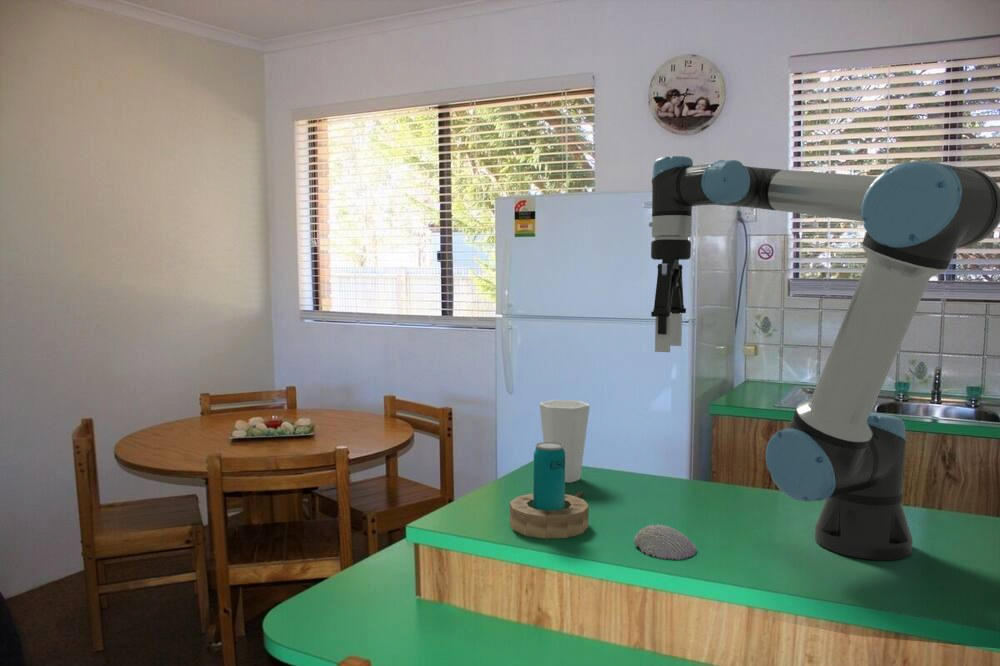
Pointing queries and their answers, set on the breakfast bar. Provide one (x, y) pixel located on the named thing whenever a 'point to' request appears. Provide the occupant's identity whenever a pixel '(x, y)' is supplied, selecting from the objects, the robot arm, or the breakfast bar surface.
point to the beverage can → (549, 477)
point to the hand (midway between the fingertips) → (668, 348)
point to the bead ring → (549, 518)
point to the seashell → (664, 542)
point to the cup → (566, 431)
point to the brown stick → (578, 495)
